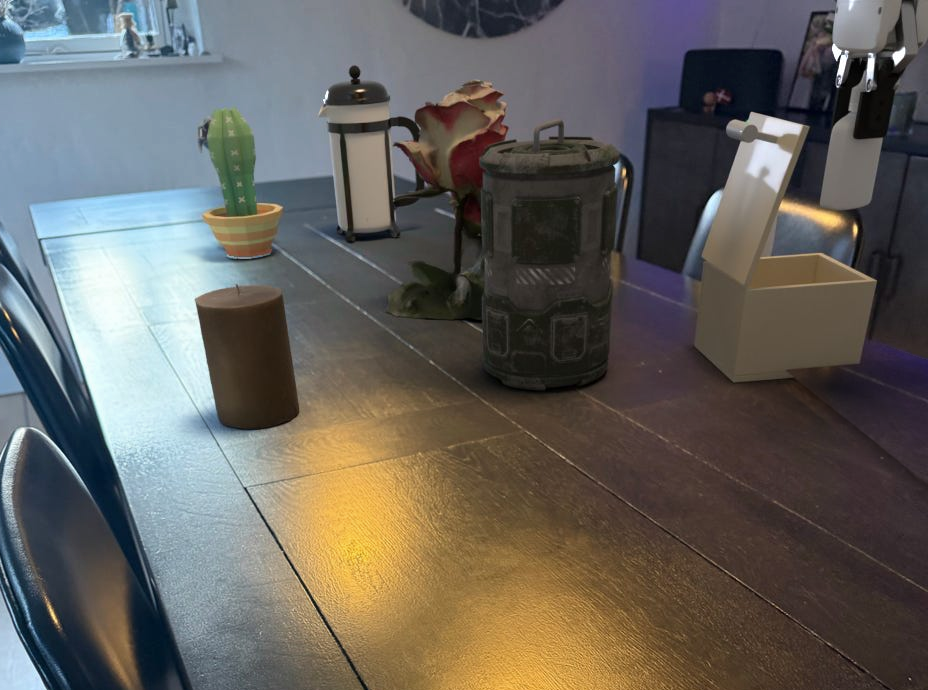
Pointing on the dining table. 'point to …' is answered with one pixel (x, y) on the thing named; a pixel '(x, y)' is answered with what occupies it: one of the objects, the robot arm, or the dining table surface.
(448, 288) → the red and cream rose
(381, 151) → the coffee press
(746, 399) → the dining table surface
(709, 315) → the beige open box
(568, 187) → the canister
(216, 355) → the pillar candle
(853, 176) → the eye dropper bottle
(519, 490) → the dining table surface
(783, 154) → the lid
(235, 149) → the potted cactus
